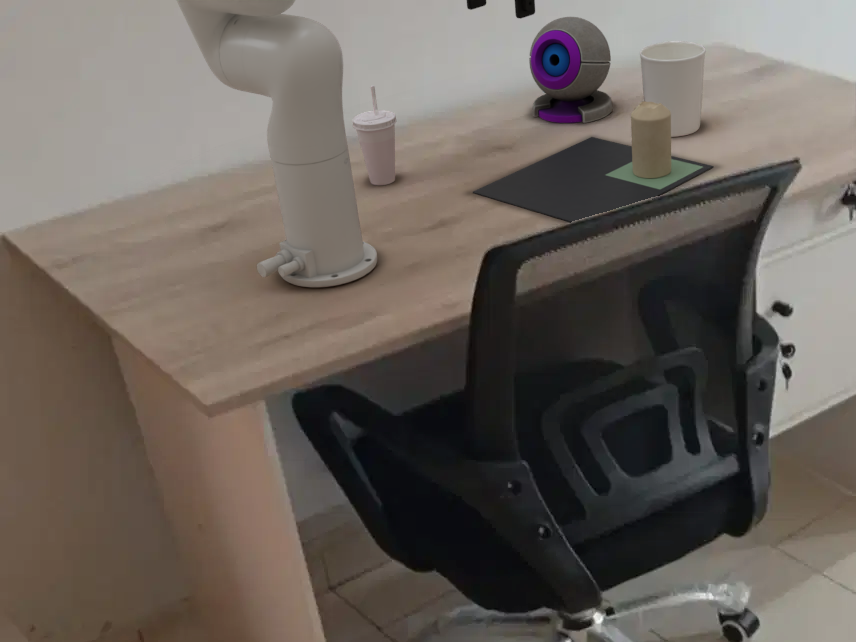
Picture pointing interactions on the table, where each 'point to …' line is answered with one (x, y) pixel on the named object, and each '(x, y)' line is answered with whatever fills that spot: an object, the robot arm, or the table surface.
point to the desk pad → (586, 181)
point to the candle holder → (675, 81)
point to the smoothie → (377, 142)
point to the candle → (651, 140)
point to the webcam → (570, 71)
